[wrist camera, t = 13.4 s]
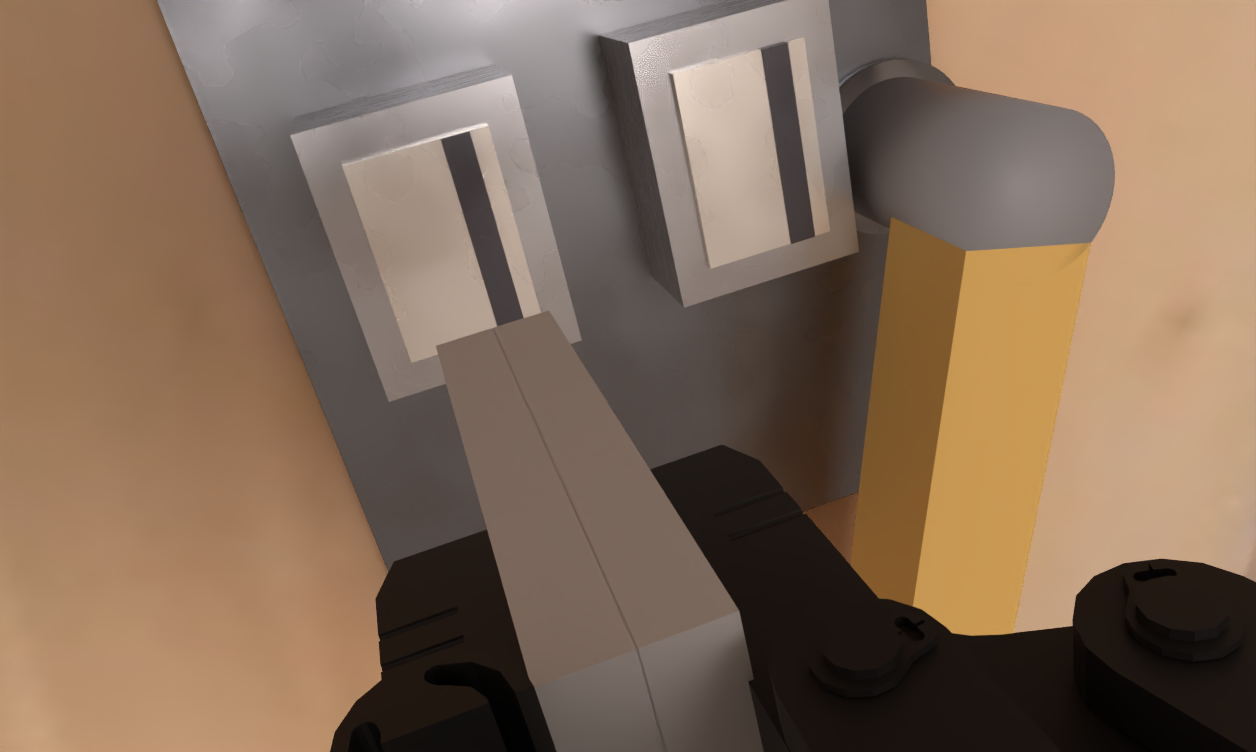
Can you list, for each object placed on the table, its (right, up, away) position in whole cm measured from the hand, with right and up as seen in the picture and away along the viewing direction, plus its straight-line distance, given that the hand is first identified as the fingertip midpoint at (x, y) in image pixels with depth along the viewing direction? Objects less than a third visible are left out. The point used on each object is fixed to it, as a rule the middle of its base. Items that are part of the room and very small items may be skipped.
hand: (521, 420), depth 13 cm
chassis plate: (+1, +6, +12) cm, 13 cm away
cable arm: (+8, 0, +15) cm, 17 cm away
